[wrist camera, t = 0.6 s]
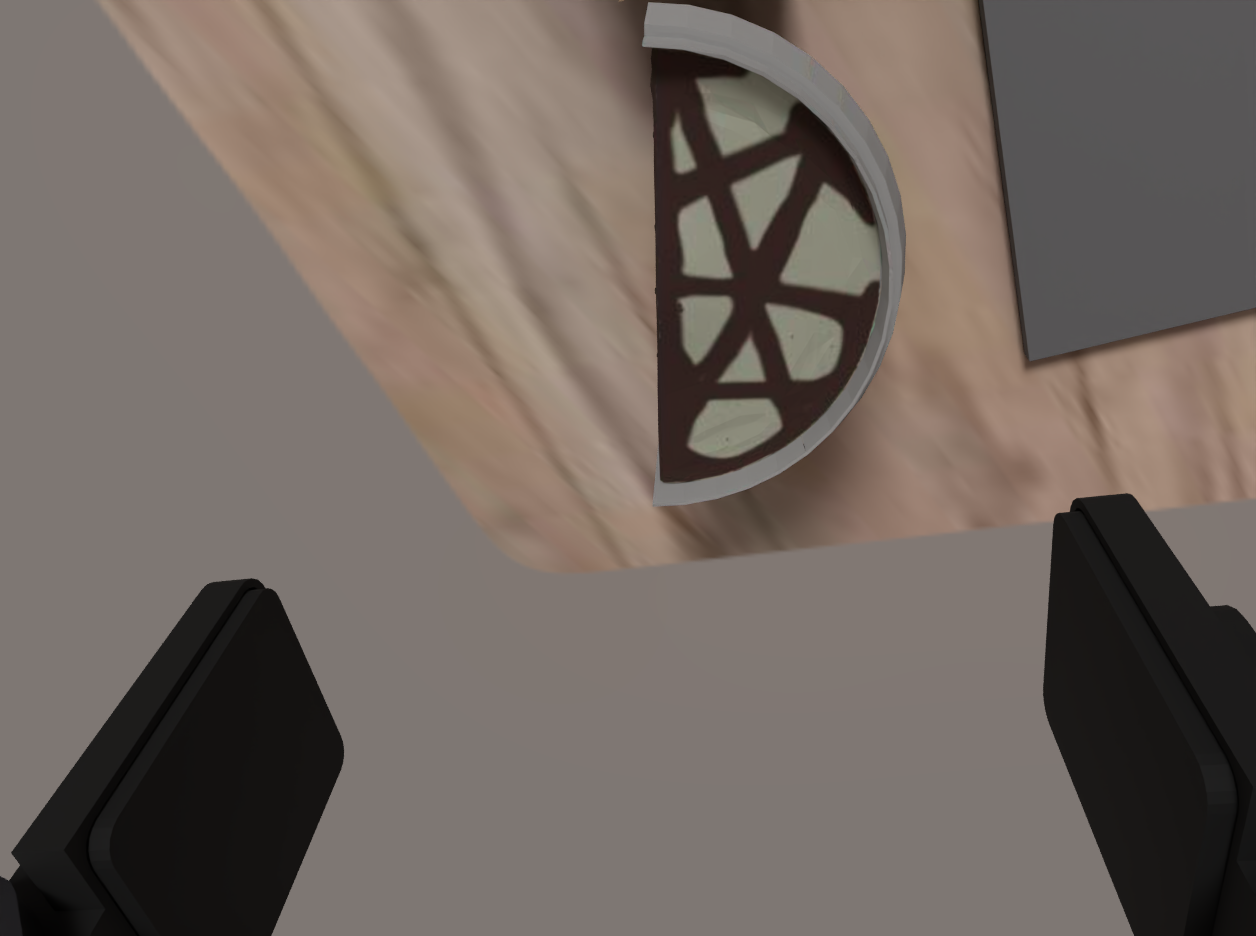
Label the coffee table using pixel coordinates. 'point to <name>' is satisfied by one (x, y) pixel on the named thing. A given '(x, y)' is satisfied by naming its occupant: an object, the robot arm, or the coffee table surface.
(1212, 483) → the coffee table surface
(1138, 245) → the mat
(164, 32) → the coffee table surface
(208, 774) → the robot arm
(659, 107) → the food container
